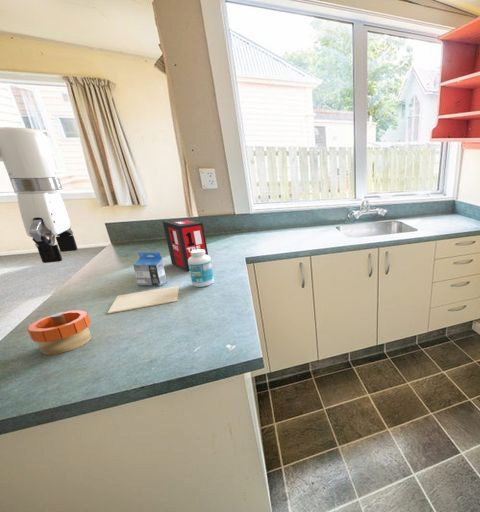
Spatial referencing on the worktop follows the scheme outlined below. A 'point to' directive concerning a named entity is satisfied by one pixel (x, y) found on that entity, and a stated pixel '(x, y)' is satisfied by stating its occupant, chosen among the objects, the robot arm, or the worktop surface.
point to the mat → (144, 299)
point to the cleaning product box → (184, 240)
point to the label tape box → (150, 269)
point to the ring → (59, 327)
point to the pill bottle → (200, 268)
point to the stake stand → (67, 342)
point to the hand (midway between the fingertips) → (61, 256)
